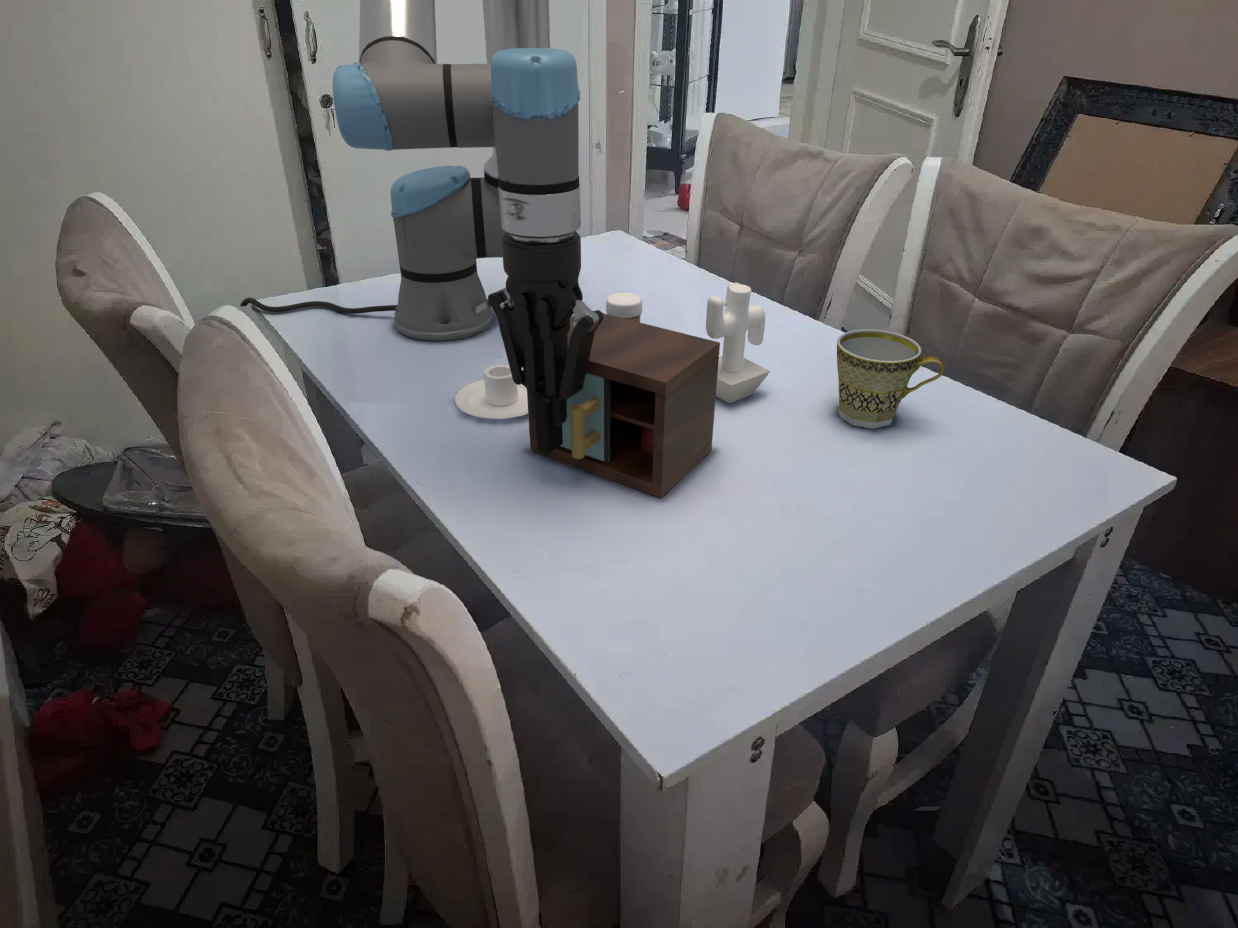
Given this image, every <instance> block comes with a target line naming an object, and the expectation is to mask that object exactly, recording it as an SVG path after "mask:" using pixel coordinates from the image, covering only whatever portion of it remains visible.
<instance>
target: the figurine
mask: <svg viewBox="0 0 1238 928" xmlns="http://www.w3.org/2000/svg"><path fill="white" fill-rule="evenodd" d="M751 294H752V288H751V287H750V286H749V285H746V284H743V283H742V284H741V283H739V282H731V283H729V284H728V285H727V287H726V294H725V295H726V296H725V300H723V298H722V297H720V296H718V295H711V296H710V297H708V299H707V302H706V314H705V316H706V317H705V332H706V334H707V336H708V337H709V338H711V340H717V339H721V338H723V342H722V343H723V344H722V356H719V362H718V374H717V387H716V398H718V399H720V400H721V401H724V402H725V403H728V404H731V403H734V402H736V401H740V400H742V399H745V398H747V397H750V396H753V395H754V393H756V391H757V389H759V388H760V386H761V385H762V383H763V382H764V381H765V380H766V378H767V377H768V375H770V373H771V370H770V369H768V368H766V367H763V366H761V365H759V364H757V363H755V362H753V361H751V360H749V359H747V358H745V347H746V346H745V345H746V335H747V341H748V343H750V344H751V345H753V346H760V345H762V344H763V342H764V336H765V335H764V334H765V326H766V312H765V309H764V308H763V307H762V306H761V305H751V306H749V304H750V299H751ZM724 307H725V309H724Z"/></svg>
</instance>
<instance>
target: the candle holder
mask: <svg viewBox="0 0 1238 928" xmlns="http://www.w3.org/2000/svg"><path fill="white" fill-rule="evenodd" d="M454 403H455V405H456V407H457V408H458V409H459V410H460V411H462V412H463V413H465V414H468V415H470V416H473V417H477V418H482V419H493V420H507V419H512V418H518V417H522V416H526V415H528V401H527V389H526V387H525V386H523V385H522V384H520V385H517V384H515V383H514V381H513V378H512V374H511V371H510V367H509V365H506V364H497V365H492V366H489V367H487V368H486V369H485V370H484V372H483V379H479V380H476V381H473V382H470V383H468V384H467V385H465V386H463V387H462V388H460V389H459V391H457V392H456V395H455V397H454Z"/></svg>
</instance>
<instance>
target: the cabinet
mask: <svg viewBox="0 0 1238 928" xmlns="http://www.w3.org/2000/svg"><path fill="white" fill-rule="evenodd" d="M602 313H603V312H602ZM603 316H604V318H603V321H602V322H601V323H600V325H599V326H598V328H597V329H596V331H595V334H594V339H593V343H592V348H591V352H590V357H589V362H588V366H587V371H586V373H590V374H593V375H596V376H600V377H603V378H607V379H610V380H611V461H609V462H608V463H606V462H604V461H601V460H598V459H596V458H593V457H590V456H587V455H585V456H584V458H582V459H575V458H573V457H572V450H570V449H567V448H564V447H561V446H559V447H557V448H556V449H555V450H553V451H552V452H550V453H549V454H546V453H543V452H541V451H538V450H537V436H536V419H533V418H532V416H531V410H530V406H531V405H530V394H529V393H528V391H527V401H528V414H527V415H528V416H527V417H528V430H529V431H528V433H529V435H528V436H529V448H530V452H531V453H533V454H534V453H535V454H537V455H539V456H543V457H545V458H548V459H550V460H554V461H557V462H559V463H563V464H565V465H568V466H571V467H574V468H576V469H579V470H580V471H581V470H582V471H584V472H587V473H590V474H593V475H595V476H598V477H601V478H604V479H607V480H610V481H612V482H615V483H618V484H620V485H623V486H626V487H629V488H630V489H631V488H632V489H635V490H637V491H639V492H643V493H644V494H645V493H646V494H648V495H650V496H654V497H656V498H659V499H661V498H663V497H664V496H665V495H666V494H667V493H668V492H669V491H670V490H672V489H673V488H674V487H675V486H676V485H677V484H678V483H679V482H680V481H681V480H682V479H683V478H684V477H686V476H687V474H689V473H690V472H691V471H692V470H693V469H694V468H695V467H696V466H697V465H698V464H699V463H700V462H701V461H703V460H704V459H705V458H706V457H707V456H708V455H709V454H710V453H711V452H712V450H713V449H712V448H713V435H714V426H715V425H714V422H715V412H716V411H715V410H716V398H717V397H716V387H717V374H718V362H719V357H720V349H721V342H720V341H715V340H713V339H708V338H705V337H700V336H695V335H692V334H687V333H684V332H679V331H676V330H671V329H667V328H663V327H660V326H656V325H651V324H647V323H645V322H641V321H640V322H636V321H632V320H628V319H624V318H620V317H616V316H612V315H608V314H607V313H603ZM573 321H574V315H572V317H571V318H570V330H569V332H568V334H567V339H568V347H569V342H570V338H571V334H572V331H573V329H574V328H575V327H573V326H572V322H573Z"/></svg>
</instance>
